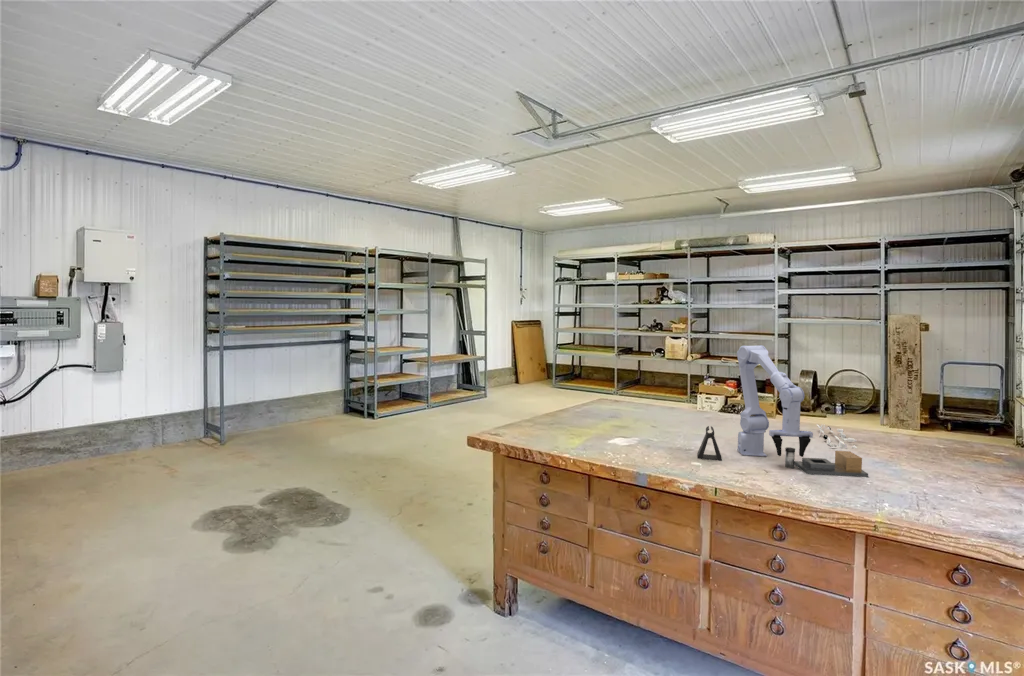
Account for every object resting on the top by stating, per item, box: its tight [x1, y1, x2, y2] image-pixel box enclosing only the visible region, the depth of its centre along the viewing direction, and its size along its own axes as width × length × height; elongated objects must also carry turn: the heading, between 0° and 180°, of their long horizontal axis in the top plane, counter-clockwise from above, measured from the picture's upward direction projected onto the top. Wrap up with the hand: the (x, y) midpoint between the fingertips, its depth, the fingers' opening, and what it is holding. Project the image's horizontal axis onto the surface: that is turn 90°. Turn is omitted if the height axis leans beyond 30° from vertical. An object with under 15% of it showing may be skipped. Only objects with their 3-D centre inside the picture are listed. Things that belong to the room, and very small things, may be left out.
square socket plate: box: [794, 450, 869, 478], centre depth 191 cm, size 20×12×6 cm, turn 81°
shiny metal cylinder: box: [784, 446, 796, 469], centre depth 195 cm, size 3×3×7 cm
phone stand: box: [696, 425, 723, 461], centre depth 207 cm, size 9×6×12 cm, turn 71°
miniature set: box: [816, 423, 858, 449], centre depth 235 cm, size 6×35×12 cm
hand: (790, 455), depth 195 cm, fingers open, 7 cm apart
